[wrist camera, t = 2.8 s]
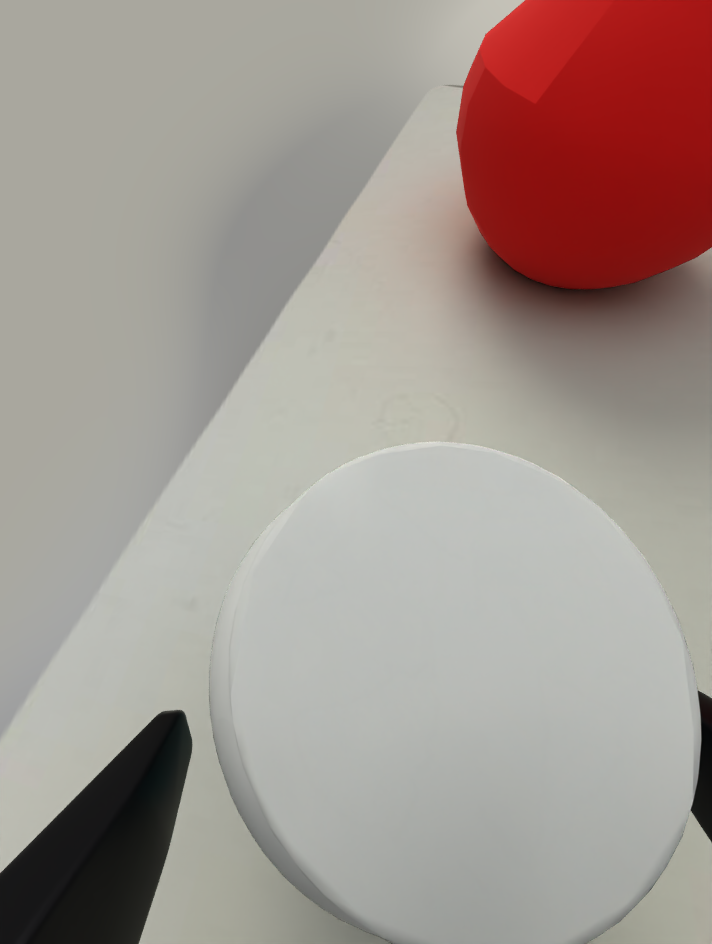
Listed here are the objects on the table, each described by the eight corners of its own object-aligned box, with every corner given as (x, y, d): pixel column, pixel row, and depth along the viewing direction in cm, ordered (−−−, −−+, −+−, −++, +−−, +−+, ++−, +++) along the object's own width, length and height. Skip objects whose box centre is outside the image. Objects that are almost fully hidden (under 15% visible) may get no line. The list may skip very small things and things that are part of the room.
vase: (475, 161, 34) (592, -356, 17) (702, 206, 30) (1146, -394, 13) (401, 289, 26) (475, -415, 9) (691, 371, 23) (1707, -542, 6)
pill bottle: (307, 562, 18) (191, 342, 6) (468, 571, 17) (703, 360, 5) (283, 760, 14) (-120, 1250, 2) (483, 776, 14) (1208, 1428, 2)
